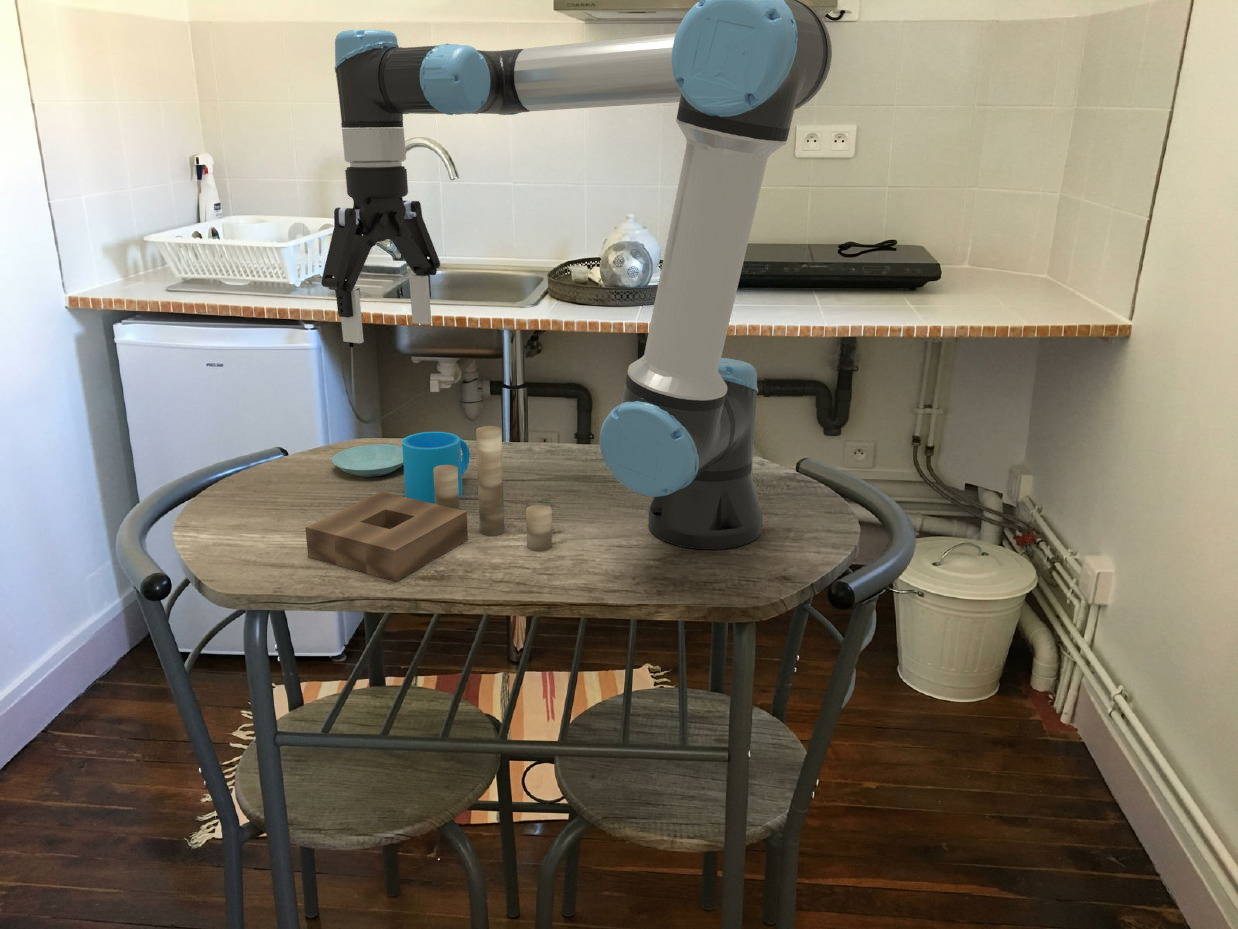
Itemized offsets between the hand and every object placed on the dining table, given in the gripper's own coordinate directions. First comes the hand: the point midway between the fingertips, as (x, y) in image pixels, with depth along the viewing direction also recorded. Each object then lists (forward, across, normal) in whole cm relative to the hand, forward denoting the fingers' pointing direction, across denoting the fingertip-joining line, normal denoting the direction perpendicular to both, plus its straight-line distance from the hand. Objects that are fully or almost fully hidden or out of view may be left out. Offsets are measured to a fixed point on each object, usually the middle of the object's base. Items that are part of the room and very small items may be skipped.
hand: (389, 332), depth 133 cm
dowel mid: (+25, 0, +8) cm, 26 cm away
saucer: (+25, -10, -14) cm, 30 cm away
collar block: (+25, +12, +8) cm, 29 cm away
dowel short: (+25, +2, +24) cm, 35 cm away
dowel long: (+25, +1, +16) cm, 30 cm away
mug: (+25, -8, +1) cm, 26 cm away
